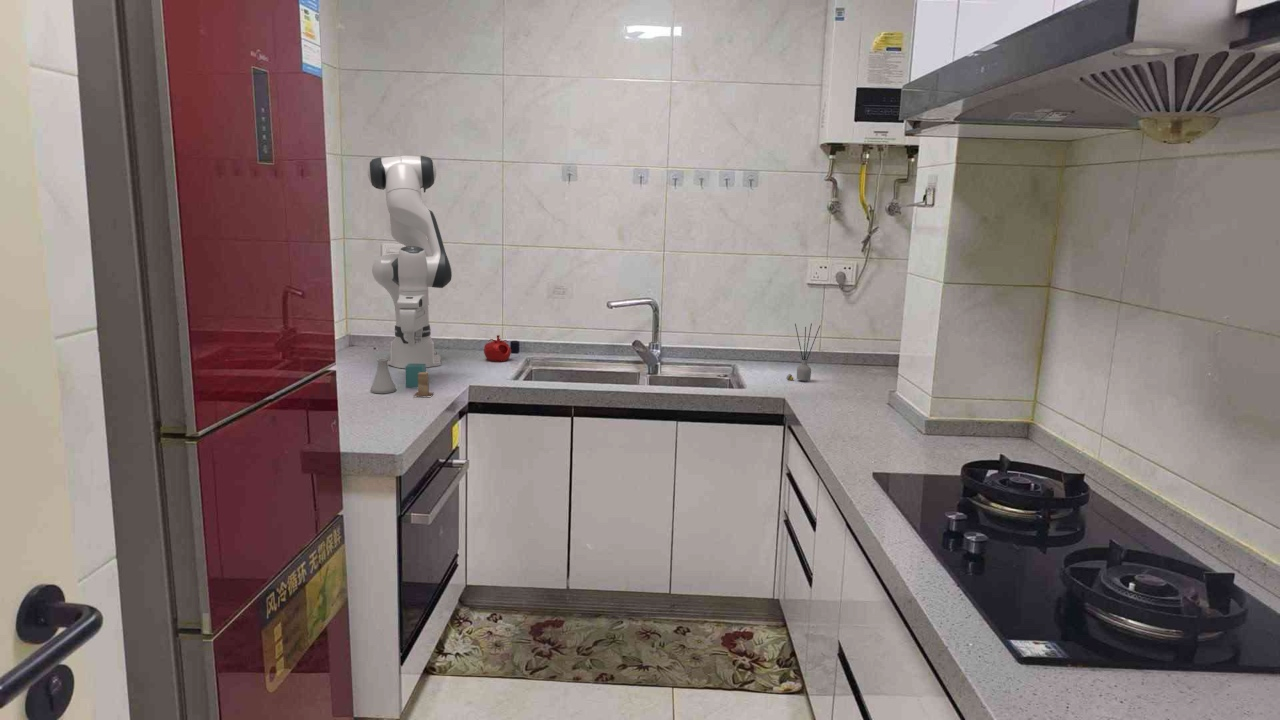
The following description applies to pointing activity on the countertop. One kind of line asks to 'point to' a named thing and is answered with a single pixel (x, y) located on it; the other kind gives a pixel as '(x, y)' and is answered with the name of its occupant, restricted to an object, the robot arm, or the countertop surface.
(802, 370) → the reed diffuser
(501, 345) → the hollow red tomato
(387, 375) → the flask
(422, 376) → the post
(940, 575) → the countertop surface
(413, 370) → the teal upright block
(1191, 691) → the countertop surface
